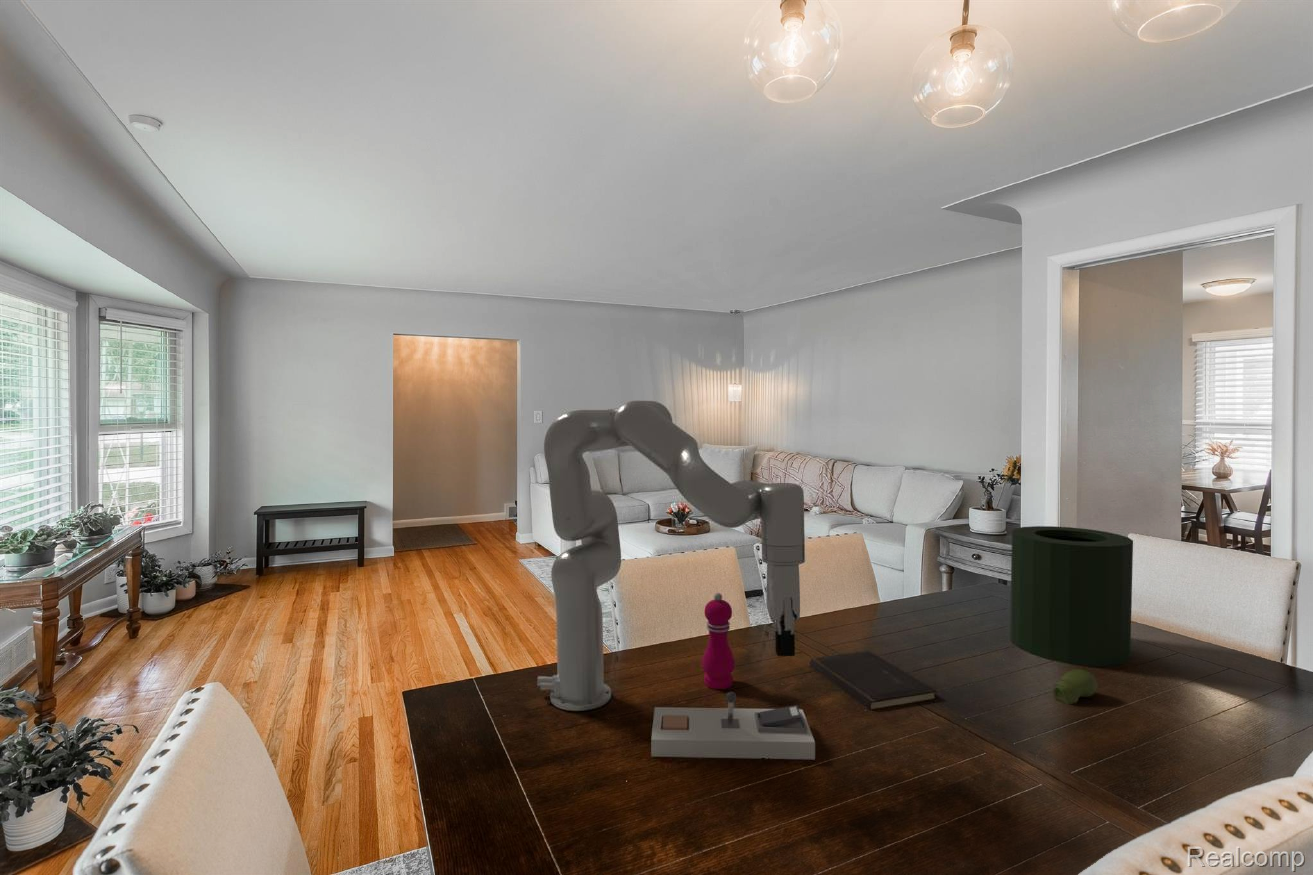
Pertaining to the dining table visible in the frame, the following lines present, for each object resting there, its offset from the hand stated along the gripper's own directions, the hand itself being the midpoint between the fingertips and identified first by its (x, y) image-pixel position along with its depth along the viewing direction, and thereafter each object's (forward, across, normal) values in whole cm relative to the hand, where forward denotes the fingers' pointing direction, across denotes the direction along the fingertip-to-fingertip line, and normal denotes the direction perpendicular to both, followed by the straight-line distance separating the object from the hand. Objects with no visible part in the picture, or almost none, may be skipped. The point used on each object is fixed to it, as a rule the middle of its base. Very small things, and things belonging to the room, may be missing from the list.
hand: (785, 654), depth 114 cm
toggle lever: (+13, 0, -10) cm, 16 cm away
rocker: (+12, 0, -1) cm, 12 cm away
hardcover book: (+17, -27, +22) cm, 38 cm away
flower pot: (+17, -49, +76) cm, 92 cm away
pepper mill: (+16, -24, -11) cm, 31 cm away
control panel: (+16, 0, -10) cm, 19 cm away
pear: (+17, -21, +62) cm, 67 cm away
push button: (+15, 0, -20) cm, 25 cm away
